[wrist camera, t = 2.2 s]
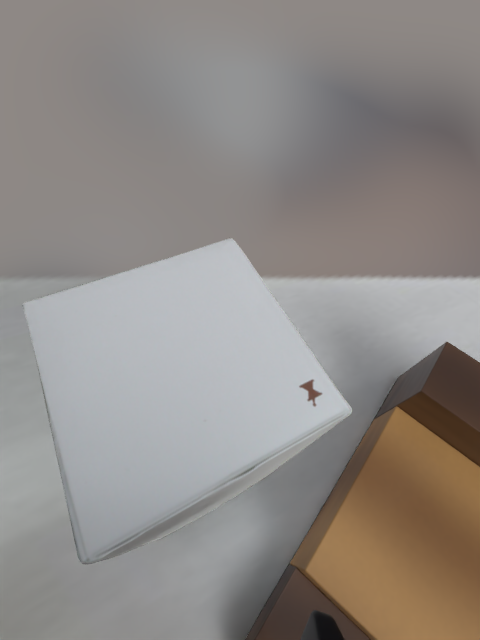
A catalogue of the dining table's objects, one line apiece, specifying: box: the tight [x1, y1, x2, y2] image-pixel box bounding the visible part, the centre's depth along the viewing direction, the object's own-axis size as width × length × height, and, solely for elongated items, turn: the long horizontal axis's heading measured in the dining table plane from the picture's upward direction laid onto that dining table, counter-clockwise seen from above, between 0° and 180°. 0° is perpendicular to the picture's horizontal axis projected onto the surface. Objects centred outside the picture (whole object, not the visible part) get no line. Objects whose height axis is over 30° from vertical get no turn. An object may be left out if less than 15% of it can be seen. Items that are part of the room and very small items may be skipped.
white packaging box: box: [22, 238, 352, 564], centre depth 15 cm, size 7×7×13 cm
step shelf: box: [245, 342, 480, 640], centre depth 16 cm, size 18×12×6 cm, turn 140°
